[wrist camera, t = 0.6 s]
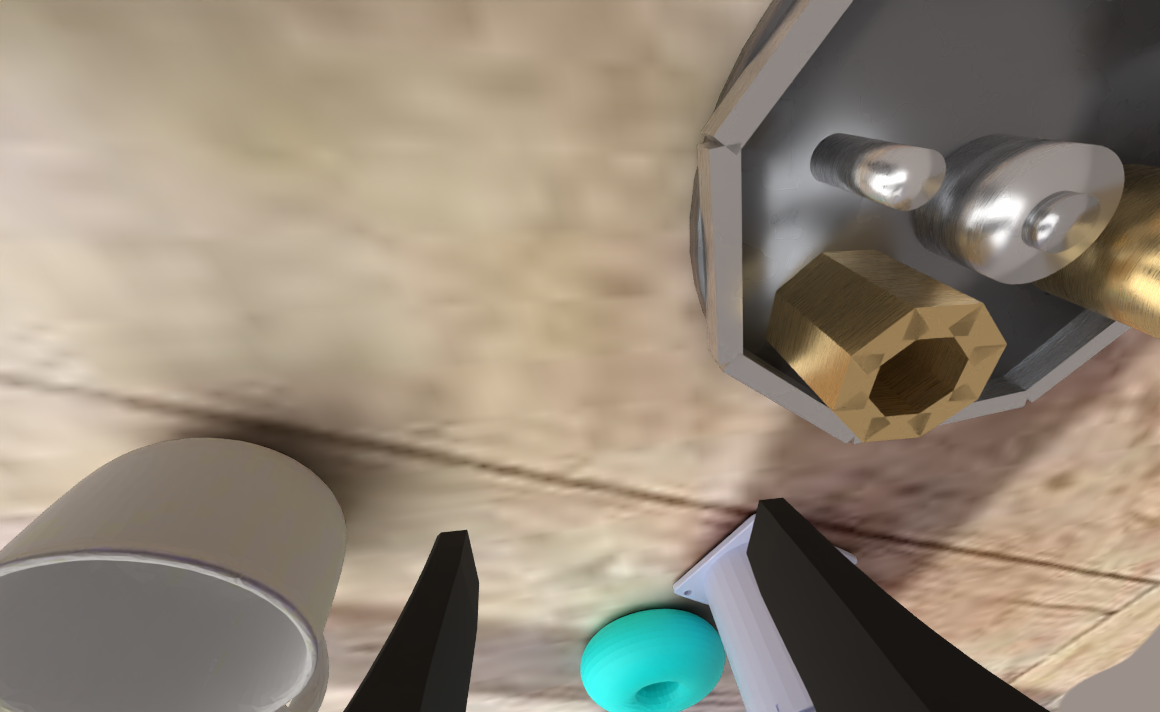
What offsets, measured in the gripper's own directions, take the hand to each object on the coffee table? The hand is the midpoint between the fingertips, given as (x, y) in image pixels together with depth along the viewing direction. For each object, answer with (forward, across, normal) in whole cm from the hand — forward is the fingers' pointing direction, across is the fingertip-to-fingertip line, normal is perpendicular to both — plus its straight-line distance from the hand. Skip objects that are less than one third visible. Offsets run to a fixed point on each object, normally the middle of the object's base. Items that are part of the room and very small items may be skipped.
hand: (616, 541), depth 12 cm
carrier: (+10, -15, -6) cm, 19 cm away
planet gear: (+9, -10, -1) cm, 14 cm away
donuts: (+10, -4, +25) cm, 27 cm away
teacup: (+10, +16, +8) cm, 20 cm away
